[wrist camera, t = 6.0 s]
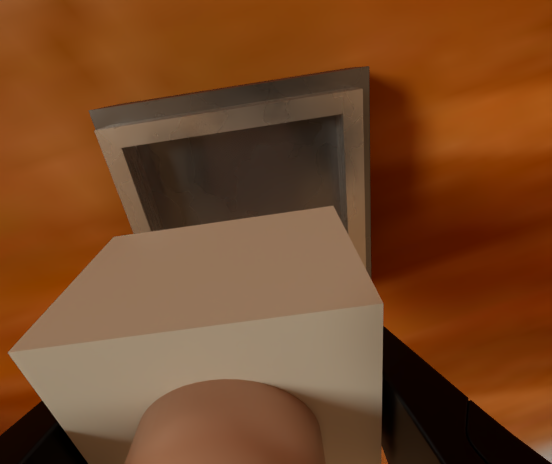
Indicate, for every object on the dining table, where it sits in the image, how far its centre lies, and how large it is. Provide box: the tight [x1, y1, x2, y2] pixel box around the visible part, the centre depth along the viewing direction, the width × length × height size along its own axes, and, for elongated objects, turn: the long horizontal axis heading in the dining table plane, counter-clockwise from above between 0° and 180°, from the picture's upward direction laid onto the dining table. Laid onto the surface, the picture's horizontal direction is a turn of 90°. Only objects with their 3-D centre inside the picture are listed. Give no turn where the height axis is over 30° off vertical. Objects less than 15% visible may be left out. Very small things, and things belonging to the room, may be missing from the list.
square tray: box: [89, 66, 371, 278], centre depth 17 cm, size 12×12×4 cm
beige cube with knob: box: [8, 206, 383, 464], centre depth 7 cm, size 6×6×6 cm
